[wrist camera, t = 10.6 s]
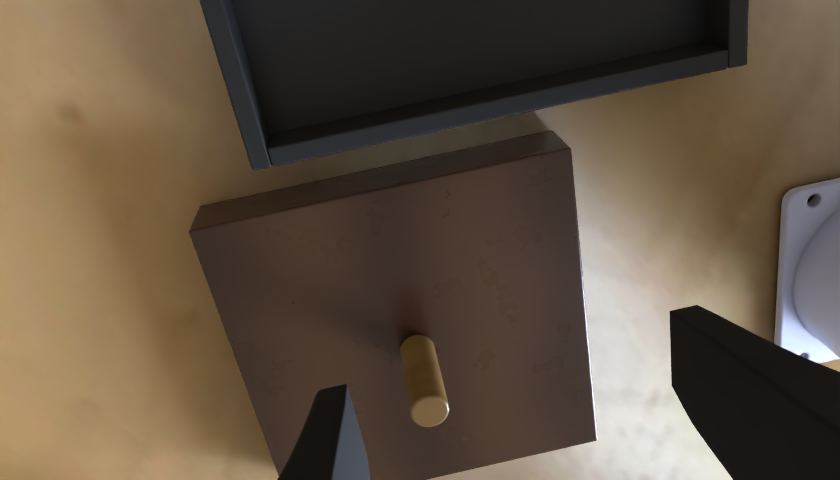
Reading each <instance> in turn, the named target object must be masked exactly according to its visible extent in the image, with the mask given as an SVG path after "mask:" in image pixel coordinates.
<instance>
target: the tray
mask: <svg viewBox="0 0 840 480" xmlns="http://www.w3.org/2000/svg"><path fill="white" fill-rule="evenodd" d="M200 4H201V7H202V10H203V13H204V17H205V20H206V23H207V26H208V29H209V33H210V36H211V39H212V42H213V46H214V49H215V52H216V55H217V58H218V62H219V65H220V68H221V71H222V75H223V78H224V81H225V84H226V87H227V91H228V94H229V97H230V100H231V104H232V107H233V110H234V113H235V116H236V120H237V123H238V126H239V129H240V133H241V136H242V139H243V142H244V145H245V149H246V152H247V155H248V158H249V162H250V165H251V168H252V170H254V171H255V170H260V169H265V168H269V167H271V166H278V165H283V164H288V163H292V162H297V161H302V160H306V159H311V158H316V157H320V156H325V155H330V154H334V153H339V152H344V151H348V150H353V149H357V148H362V147H367V146H371V145H376V144H381V143H385V142H390V141H395V140H399V139H404V138H409V137H413V136H418V135H422V134H427V133H432V132H436V131H441V130H446V129H450V128H455V127H460V126H464V125H469V124H474V123H478V122H483V121H488V120H492V119H497V118H501V117H506V116H511V115H515V114H520V113H525V112H529V111H534V110H539V109H543V108H548V107H553V106H557V105H562V104H566V103H571V102H576V101H580V100H585V99H590V98H594V97H599V96H604V95H608V94H613V93H618V92H622V91H627V90H632V89H636V88H641V87H645V86H650V85H655V84H659V83H664V82H669V81H673V80H678V79H683V78H687V77H692V76H697V75H701V74H706V73H710V72H715V71H720V70H724V69H727V68H734V67H738V66H743V65H746V64H747V47H748V9H749V0H200Z"/></svg>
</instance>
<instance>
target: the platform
mask: <svg viewBox="0 0 840 480" xmlns="http://www.w3.org/2000/svg"><path fill="white" fill-rule="evenodd" d="M189 234H190V237H191V239H192V242H193V245H194V248H195V250H196V253H197V256H198V258H199V261H200V264H201V266H202V269H203V272H204V275H205V277H206V280H207V283H208V285H209V288H210V291H211V294H212V296H213V299H214V302H215V304H216V307H217V310H218V313H219V315H220V318H221V321H222V323H223V326H224V329H225V331H226V334H227V337H228V340H229V342H230V345H231V348H232V350H233V353H234V356H235V359H236V361H237V364H238V367H239V369H240V372H241V375H242V377H243V380H244V383H245V386H246V388H247V391H248V394H249V396H250V399H251V402H252V405H253V407H254V410H255V413H256V415H257V418H258V421H259V424H260V426H261V429H262V432H263V434H264V437H265V440H266V442H267V445H268V448H269V451H270V453H271V456H272V459H273V461H274V464H275V467H276V470H277V472H278V475H279V476H280V474H281V472H282V470H283V469H284V467H285V465H286V463H287V461H288V459H289V457H290V455H291V453H292V450H293V448H294V446H295V444H296V442H297V440H298V438H299V436H300V433H301V431H302V429H303V426H304V424H305V422H306V419H307V417H308V414H309V412H310V409H311V406H312V404H313V401H314V398H315V395H316V394H317V392H318V391H319V390H321V389H325V388H330V387H334V386H339V385H343V384H347V386H348V389H349V393H350V396H351V400H352V403H353V407H354V410H355V414H356V417H357V421H358V424H359V428H360V431H361V435H362V438H363V442H364V445H365V449H366V452H367V456H368V464H369V472H370V480H427V479H431V478H435V477H440V476H444V475H448V474H453V473H457V472H462V471H466V470H470V469H475V468H479V467H483V466H488V465H492V464H497V463H501V462H505V461H510V460H514V459H518V458H523V457H527V456H531V455H536V454H540V453H545V452H549V451H553V450H558V449H562V448H566V447H571V446H575V445H579V444H584V443H588V442H593V441H596V440H597V428H596V417H595V406H594V395H593V384H592V373H591V362H590V351H589V340H588V329H587V318H586V307H585V296H584V285H583V274H582V264H581V253H580V242H579V231H578V220H577V209H576V198H575V187H574V176H573V165H572V154H571V148H570V147H569V146H568V145H567V144H566V143H565V142H564V141H563V140H562V139H561V138H560V137H559V136H558V135H557V134H556V133H555V132H554V131H547V132H543V133H538V134H533V135H529V136H524V137H520V138H515V139H510V140H506V141H501V142H497V143H492V144H487V145H483V146H478V147H473V148H469V149H464V150H460V151H455V152H450V153H446V154H441V155H436V156H432V157H427V158H423V159H418V160H413V161H409V162H404V163H399V164H395V165H390V166H386V167H381V168H376V169H372V170H367V171H362V172H358V173H353V174H349V175H344V176H339V177H335V178H330V179H325V180H321V181H316V182H312V183H307V184H302V185H298V186H293V187H288V188H284V189H279V190H275V191H270V192H265V193H261V194H256V195H251V196H247V197H242V198H238V199H233V200H228V201H224V202H219V203H214V204H210V205H205V206H201V207H199V209H198V211H197V214H196V216H195V218H194V221H193V223H192V225H191V227H190V230H189Z"/></svg>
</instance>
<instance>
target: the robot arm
mask: <svg viewBox="0 0 840 480" xmlns="http://www.w3.org/2000/svg"><path fill="white" fill-rule="evenodd" d="M813 194H814V198H813V199H812V201H811V202H809V203H807V201H808V198H809V197H810V196H811V195H813ZM670 336H671V372H672V387H673V389H674V390H675V392H676V394H677V396H678V398H679V400H680V402H681V404H682V406H683V408H684V409H685V411H686V413H687V415H688V416H689V418H690V420H691V422H692V423H693V425H694V426H695V428H696V429H697V431H698V432H699V434H700V435H701V436H702V438H703V439H704V440H705V442H706V443H707V445H708V446H709V447H710V449H711V450H712V451H713V453H714V454H715V455H716V457H717V458H718V460H719V461H720V462H721V464H722V465H723V466H724V468H725V469H726V470H727V472H728V473H729V474H730V476H731V477H732V478H733V480H840V372H838V371H836V370H833V369H830V368H828V367H825V366H823V365H821V364H818V363H822V362H827V361H831V360H835V359H840V178H836V179H832V180H827V181H823V182H818V183H814V184H809V185H805V186H800V187H796V188H793V189H791V190H789V191H788V192H787V193H786V194H785V196H784V197H783V199H782V205H781V224H780V243H779V262H778V281H777V300H776V319H775V338H774V343H772V342H770V341H768V340H766V339H764V338H762V337H760V336H758V335H756V334H754V333H752V332H750V331H748V330H746V329H744V328H742V327H740V326H738V325H736V324H734V323H732V322H730V321H728V320H726V319H724V318H722V317H720V316H718V315H716V314H714V313H712V312H710V311H708V310H706V309H704V308H702V307H700V306H698V305H695V306H691V307H686V308H682V309H677V310H673V311H670ZM801 353H802V354H801ZM799 354H801V355H799ZM277 480H370V472H369V464H368V456H367V452H366V449H365V445H364V442H363V438H362V435H361V431H360V428H359V424H358V421H357V417H356V414H355V410H354V407H353V403H352V400H351V396H350V393H349V389H348V386H347V384H343V385H339V386H334V387H330V388H325V389H321V390H319V391H318V392H317V394H316V395H315V398H314V401H313V404H312V406H311V409H310V412H309V414H308V417H307V419H306V422H305V424H304V426H303V429H302V431H301V433H300V436H299V438H298V440H297V442H296V444H295V446H294V448H293V450H292V453H291V455H290V457H289V459H288V461H287V463H286V465H285V467H284V469H283V470H282V472H281V474H280V476H279V478H278V479H277Z"/></svg>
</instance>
